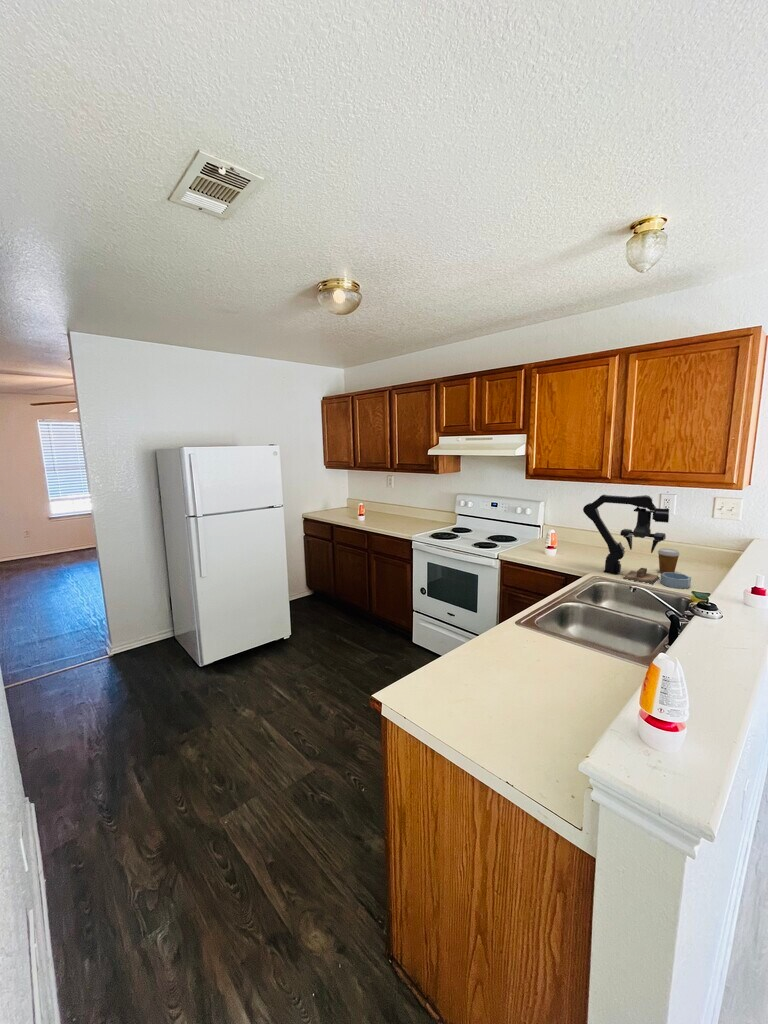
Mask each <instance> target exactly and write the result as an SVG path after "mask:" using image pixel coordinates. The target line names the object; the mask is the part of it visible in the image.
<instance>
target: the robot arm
mask: <svg viewBox="0 0 768 1024" xmlns="http://www.w3.org/2000/svg"><path fill="white" fill-rule="evenodd" d="M607 503H608V504H619V505H631V506H635V508H634V509H633V512H636V513H637V519H636V525H635V528H634V529H629V528H624V529H622V530H621V531H620V535H619V536H621V537H622V536H623V538H624V539H626V541H627V544H628V546H629V550H631V551H632V550H633V537H634V538H642V539H644V538H653V540H652V545H651V550H650V553H651V554H653V552H654V550H655V549H656V547H657V545H658V543H661V542H662V541H665V540H666V537H667V536H666V533H663V532H655V533H651V530H652V529H651V523H652V522H651V520H653V521H654V522H655V523H666V524H667V523H669V522H670V521H669V520H670V519H669V518H670V508H661V507H659V508H658V507H656V505H655V504H654V503H653V498H652V497H651V496H650V495H647V494H645V495H636V496H625V495H623V496H622V495H608V494H601V495H600V496H599V497H598V498H597V499H595V500H594V501H593V502H590V503H587V504H585V505H584V506H583V508H582V511H583V513H584V514H585V515H586V517H588V519H590V520H591V521H592V522H593V524H594V526H595V527H596V528H597V530H598V532H599V534H600V535H601V537H602V538H603V540H604V542H605V543H606V544H607V549H608V552H609V553H607V556H606V558H605V563H604V570H603V573H607V574H613V575H618V574H619V573H621V571H622V564H621V561H620V560H622V559H623V557H624V556H625V552H626V551H625V547H624V546H623V544H622V542H621V541H620V542H618V541H616V540H615V539H614V537H613V535H612V534H611V532H610V531H609V529H608V527H607V526H606V524H605V522H604V521H603V519H602V518H601V516H600V515H601V514H600V511H599V509H598V508H600V507H601V506H602V505H604V504H607ZM647 509H648V510H647Z"/></svg>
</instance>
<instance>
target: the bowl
mask: <svg viewBox="0 0 768 1024" xmlns="http://www.w3.org/2000/svg"><path fill="white" fill-rule="evenodd" d="M659 580H660V581H659V582H660V583H661V585H663V586H665V585H666V586H665V587H668V586H669V587H668V588H672V587H673V589H679V588H686V589H688V587H691V585H692V583H691V582H692V577H691V576H689V575H686V574H684V573H679V572H664V573H660V579H659Z"/></svg>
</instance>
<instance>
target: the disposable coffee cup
mask: <svg viewBox="0 0 768 1024" xmlns="http://www.w3.org/2000/svg"><path fill="white" fill-rule="evenodd" d="M657 554H658V566H659V567H658V568H659V569H658V570H659V573H660V572H661V573H660V574H662V573H664V572H674V573H676V568H677V563H678V560H679V556H680V555H681V554H680V551H679V550H677V549H673V548H659V549H658V550H657Z"/></svg>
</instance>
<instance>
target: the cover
mask: <svg viewBox="0 0 768 1024" xmlns="http://www.w3.org/2000/svg"><path fill="white" fill-rule="evenodd" d="M647 571H648V569H647V568H646V567H640V568H639V569H638V570H635V571H634V570H630V571H628V572H627V574H625V575H624V577H625V578H629V579H634V580H639V581H645V582H650V583H653V582H654V581H655V580H656V579H657V578H658V577H659V574H653V573H648V572H647Z"/></svg>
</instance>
